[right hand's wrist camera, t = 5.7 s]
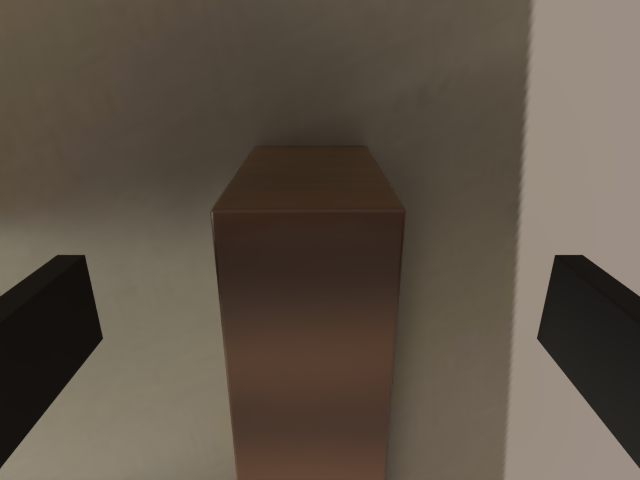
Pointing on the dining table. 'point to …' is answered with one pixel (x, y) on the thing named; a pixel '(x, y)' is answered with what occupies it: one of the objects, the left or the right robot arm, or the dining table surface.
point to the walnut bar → (309, 311)
